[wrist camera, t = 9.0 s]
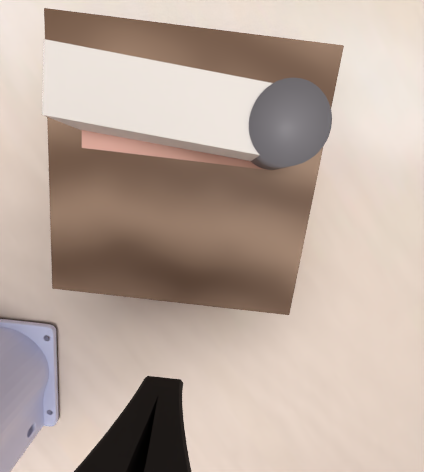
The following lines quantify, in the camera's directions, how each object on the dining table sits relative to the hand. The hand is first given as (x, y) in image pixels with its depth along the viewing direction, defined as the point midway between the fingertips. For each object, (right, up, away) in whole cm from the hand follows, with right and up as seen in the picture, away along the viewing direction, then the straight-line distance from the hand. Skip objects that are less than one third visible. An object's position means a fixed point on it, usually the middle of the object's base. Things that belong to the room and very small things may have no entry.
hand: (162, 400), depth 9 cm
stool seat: (0, +10, +7) cm, 12 cm away
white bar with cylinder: (+1, +13, +5) cm, 13 cm away
